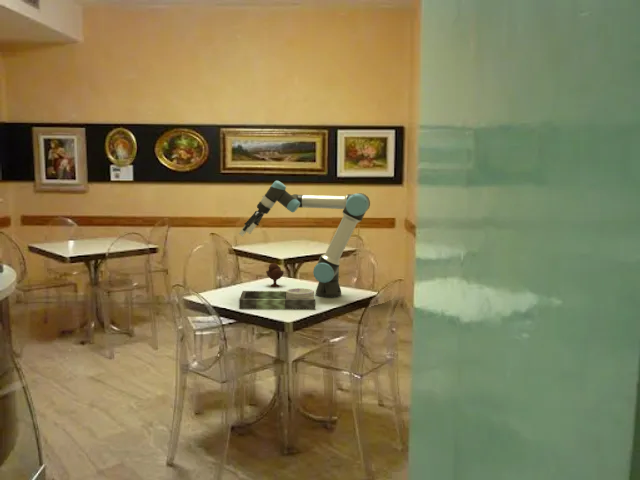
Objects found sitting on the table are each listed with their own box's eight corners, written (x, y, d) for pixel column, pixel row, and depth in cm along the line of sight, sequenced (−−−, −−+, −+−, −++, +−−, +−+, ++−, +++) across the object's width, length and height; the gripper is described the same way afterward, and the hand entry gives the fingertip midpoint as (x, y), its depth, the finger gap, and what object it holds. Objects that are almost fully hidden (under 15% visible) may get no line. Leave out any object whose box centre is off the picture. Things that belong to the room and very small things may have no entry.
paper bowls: (295, 300, 325) (295, 286, 324) (318, 303, 317) (319, 289, 316) (280, 305, 312) (280, 291, 311) (304, 309, 304) (304, 294, 303)
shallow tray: (313, 300, 326) (313, 291, 325) (315, 309, 304) (315, 300, 304) (242, 299, 324) (242, 290, 323) (239, 308, 302) (239, 299, 302)
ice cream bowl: (283, 288, 358) (283, 264, 356) (265, 287, 358) (265, 263, 356) (284, 284, 369) (284, 261, 367) (266, 284, 369) (267, 261, 367)
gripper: (266, 199, 341) (246, 227, 345) (254, 201, 316) (232, 231, 320) (276, 207, 340) (255, 235, 344) (264, 210, 316) (242, 240, 320)
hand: (244, 233), depth 332 cm, fingers open, 13 cm apart
